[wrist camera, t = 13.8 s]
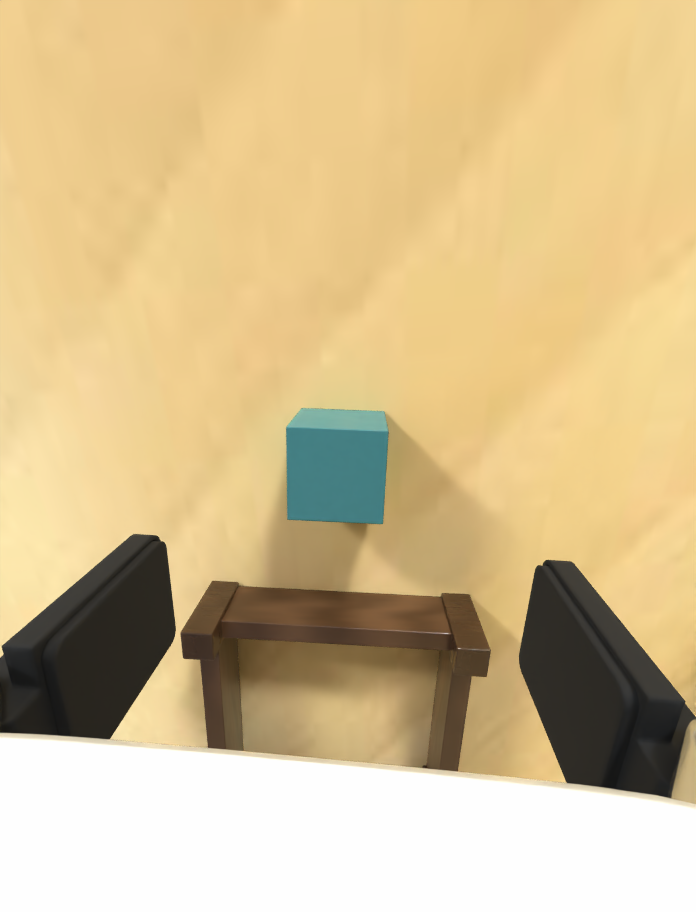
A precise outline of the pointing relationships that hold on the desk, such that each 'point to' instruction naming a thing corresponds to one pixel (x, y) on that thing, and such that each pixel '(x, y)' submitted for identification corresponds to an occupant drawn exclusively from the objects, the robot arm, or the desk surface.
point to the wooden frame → (336, 622)
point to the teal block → (337, 465)
